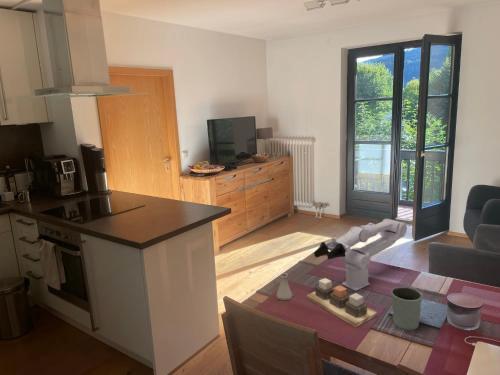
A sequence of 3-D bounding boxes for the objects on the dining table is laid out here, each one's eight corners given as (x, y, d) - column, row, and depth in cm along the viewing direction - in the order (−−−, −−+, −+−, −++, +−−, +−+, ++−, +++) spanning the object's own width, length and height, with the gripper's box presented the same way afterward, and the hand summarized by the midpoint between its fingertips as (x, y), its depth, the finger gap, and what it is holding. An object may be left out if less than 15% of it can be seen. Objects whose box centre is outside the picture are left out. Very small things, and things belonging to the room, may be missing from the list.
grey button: (355, 300, 141) (355, 293, 140) (363, 304, 138) (363, 296, 138) (349, 303, 139) (349, 296, 139) (356, 307, 136) (356, 299, 136)
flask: (292, 301, 152) (291, 279, 150) (274, 300, 153) (274, 278, 151) (293, 292, 159) (293, 271, 157) (277, 291, 160) (276, 270, 158)
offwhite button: (325, 284, 154) (325, 277, 154) (331, 287, 151) (331, 281, 151) (319, 287, 152) (318, 280, 152) (325, 290, 149) (325, 283, 149)
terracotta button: (339, 291, 148) (339, 285, 147) (346, 295, 145) (346, 288, 144) (333, 294, 146) (333, 288, 145) (340, 298, 143) (340, 291, 142)
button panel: (326, 289, 160) (326, 278, 159) (377, 315, 139) (377, 303, 138) (306, 298, 154) (306, 287, 153) (355, 327, 133) (356, 315, 131)
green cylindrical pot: (417, 334, 127) (419, 303, 124) (387, 326, 132) (388, 296, 130) (422, 319, 135) (424, 289, 133) (393, 312, 141) (394, 283, 138)
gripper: (329, 233, 160) (307, 245, 153) (354, 234, 147) (331, 248, 141) (334, 248, 161) (311, 261, 154) (359, 250, 148) (336, 265, 141)
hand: (321, 256), depth 147 cm, fingers open, 7 cm apart
